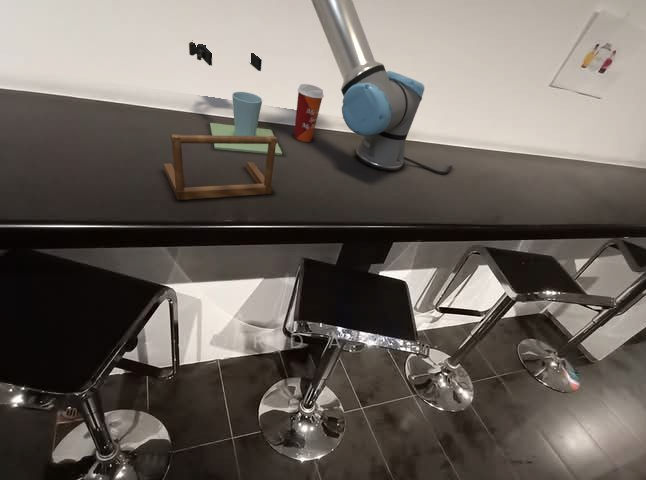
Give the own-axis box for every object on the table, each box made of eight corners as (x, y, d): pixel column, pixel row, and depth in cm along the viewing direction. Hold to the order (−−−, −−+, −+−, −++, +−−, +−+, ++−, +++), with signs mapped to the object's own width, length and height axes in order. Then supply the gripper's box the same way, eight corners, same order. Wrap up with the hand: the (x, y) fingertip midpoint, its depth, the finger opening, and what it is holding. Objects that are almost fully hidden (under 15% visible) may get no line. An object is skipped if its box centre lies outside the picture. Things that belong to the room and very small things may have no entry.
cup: (256, 145, 94) (259, 104, 87) (228, 139, 93) (229, 97, 86) (260, 135, 100) (264, 96, 92) (234, 129, 99) (235, 89, 91)
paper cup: (306, 145, 103) (315, 94, 94) (285, 135, 105) (293, 84, 96) (319, 139, 109) (329, 91, 99) (299, 130, 111) (307, 82, 101)
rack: (252, 168, 86) (256, 115, 77) (271, 193, 79) (278, 138, 70) (164, 171, 76) (157, 110, 67) (177, 200, 69) (172, 136, 61)
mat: (271, 131, 105) (271, 129, 105) (282, 155, 95) (282, 153, 94) (209, 124, 99) (209, 122, 98) (214, 149, 89) (214, 146, 88)
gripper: (250, 60, 111) (277, 82, 99) (169, 50, 99) (188, 74, 88) (252, 32, 106) (280, 51, 94) (166, 17, 94) (186, 38, 82)
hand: (236, 62), depth 91 cm, fingers open, 13 cm apart
